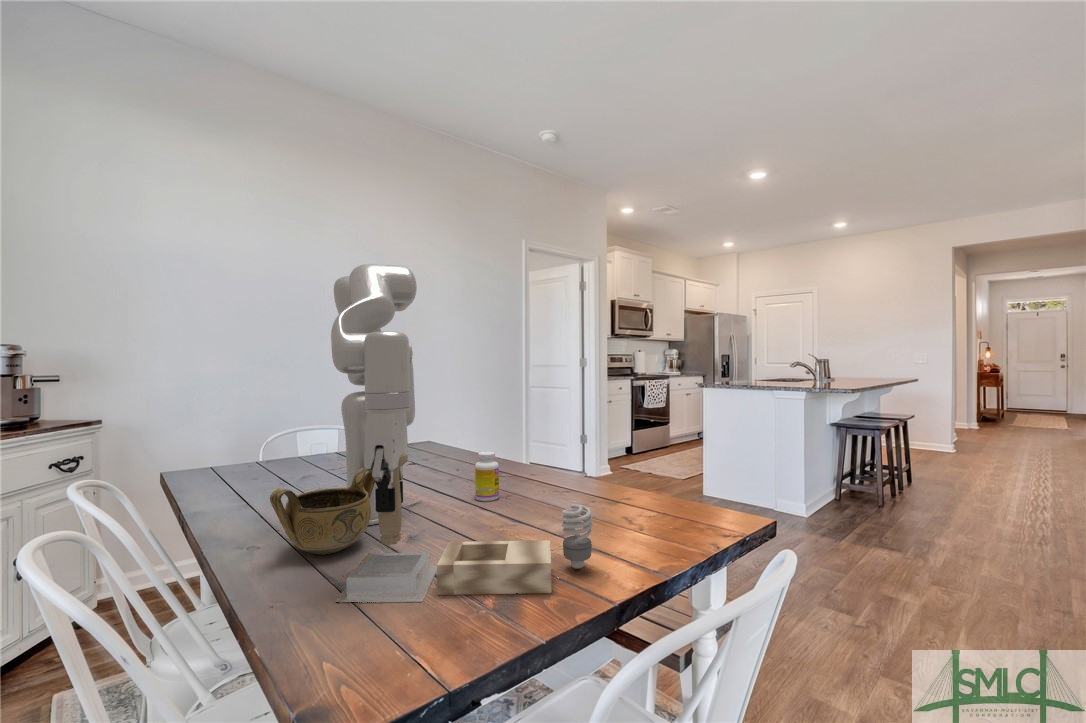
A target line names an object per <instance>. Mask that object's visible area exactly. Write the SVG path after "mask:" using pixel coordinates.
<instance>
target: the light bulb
mask: <svg viewBox="0 0 1086 723" xmlns="http://www.w3.org/2000/svg"><path fill="white" fill-rule="evenodd" d="M561 513H562V515H563V516H562V517H561V521H562V523H561V526H562V532H563V534H565V535H570V536H568V537H565V538H564V539H563V541H562V550H563V551H562V552H563V556H564V558H565V559H566V560H568V561H570V566H571V567H572V568H574V569H575V570H580V569H582V568H583V567H584V565H585V561H587V560H589V559H590V558H591V556H592V546H593V545H592V540H591V539H590V538H589V536H590V535H591V534H592V527H593V522H592V521H593V518H592V511H591V509H590V508H589V507H588V506H585V505H583V504H576V503H572V504H570V508H566V509H563V510H562V511H561Z"/></svg>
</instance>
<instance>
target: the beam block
mask: <svg viewBox="0 0 1086 723" xmlns="http://www.w3.org/2000/svg"><path fill="white" fill-rule="evenodd" d="M436 566H437V573H436V584H437V585H436V586H437V587H436V589H437V590H436V591H437V592H436V595H437V596H446V595H447V596H451V595H453V596H456V595H459V596H460V595H502V594H503V595H513V594H515V595H516V593H518V594H519V595H520V594H522V595H523V594H524V595H525V594H526V593H527V594H551V593H552V555H551V540H549V539H547V540H544V539H543V540H540V539H539V540H496V541H495V540H490V541H489V540H488V541H486V540H485V541H484V540H483V541H482V540H479V541H473V540H472V541H448V543H447V544H446V546H445V548H444V551H443V553H442V554H441V556H440V559H439V560H438V562H437V564H436ZM518 594H517V595H518ZM527 594H526V595H527Z"/></svg>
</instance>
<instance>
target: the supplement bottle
mask: <svg viewBox="0 0 1086 723" xmlns="http://www.w3.org/2000/svg"><path fill="white" fill-rule="evenodd" d="M495 458H496V453H495V452H494V451H481V452H478V461H477V462H476V463H475V465H474V475H475V477H474V480H475V481H474V485H475V488H474V489H475V490H474V491H475V492H474V493H475V495H474V496H475V500H477V501H479V502H492V501H496V500H498V499H499V497H500V475H499V474H500V470H499V469H500V466H499V463H498V462H497V461H495Z"/></svg>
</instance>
